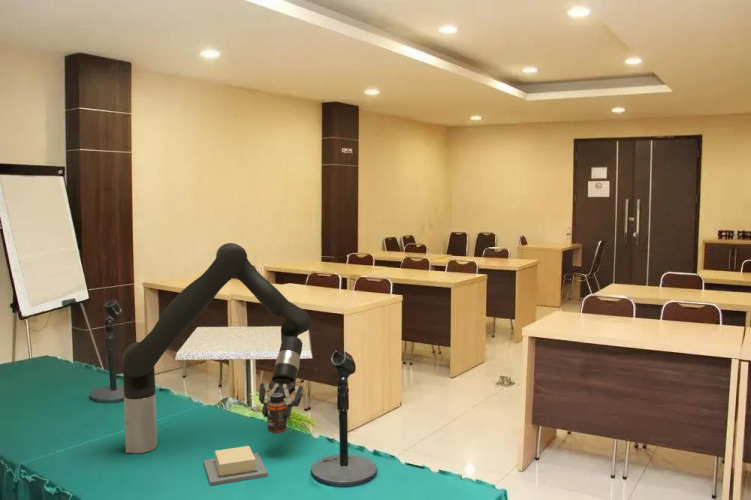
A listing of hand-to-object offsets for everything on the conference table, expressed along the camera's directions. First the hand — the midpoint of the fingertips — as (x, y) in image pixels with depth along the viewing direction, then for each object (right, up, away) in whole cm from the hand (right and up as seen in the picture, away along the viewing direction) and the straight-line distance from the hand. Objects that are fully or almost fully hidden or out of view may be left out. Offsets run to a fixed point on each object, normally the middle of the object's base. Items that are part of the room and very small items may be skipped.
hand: (275, 416), depth 192 cm
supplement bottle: (0, -5, +2) cm, 5 cm away
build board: (-11, -13, -8) cm, 19 cm away
